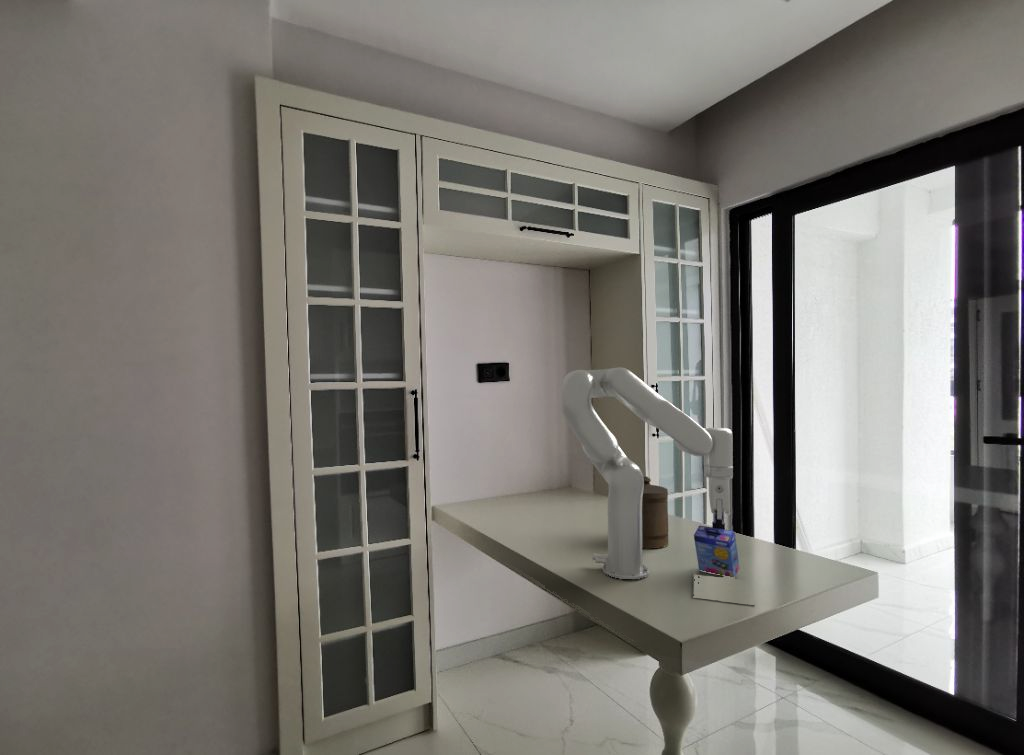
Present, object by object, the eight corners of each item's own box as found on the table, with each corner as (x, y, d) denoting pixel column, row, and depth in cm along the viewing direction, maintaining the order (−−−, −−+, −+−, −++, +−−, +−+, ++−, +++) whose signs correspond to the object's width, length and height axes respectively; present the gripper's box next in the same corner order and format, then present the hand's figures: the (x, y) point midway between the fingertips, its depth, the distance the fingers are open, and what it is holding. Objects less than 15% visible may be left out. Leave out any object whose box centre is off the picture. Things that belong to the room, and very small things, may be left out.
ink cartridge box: (698, 572, 144) (691, 527, 140) (704, 561, 148) (698, 517, 144) (734, 580, 138) (728, 533, 134) (740, 568, 142) (734, 522, 138)
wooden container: (661, 536, 178) (661, 473, 178) (673, 549, 163) (673, 481, 163) (619, 535, 179) (619, 472, 179) (627, 549, 164) (626, 480, 164)
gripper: (735, 477, 135) (735, 546, 135) (730, 468, 150) (730, 530, 149) (704, 475, 138) (705, 543, 138) (703, 466, 152) (703, 528, 152)
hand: (718, 536), depth 143 cm, fingers closed
